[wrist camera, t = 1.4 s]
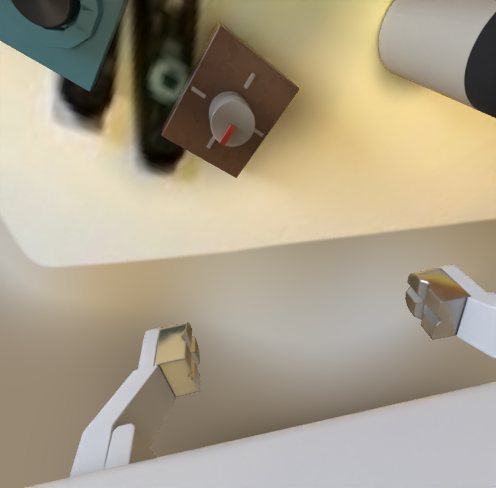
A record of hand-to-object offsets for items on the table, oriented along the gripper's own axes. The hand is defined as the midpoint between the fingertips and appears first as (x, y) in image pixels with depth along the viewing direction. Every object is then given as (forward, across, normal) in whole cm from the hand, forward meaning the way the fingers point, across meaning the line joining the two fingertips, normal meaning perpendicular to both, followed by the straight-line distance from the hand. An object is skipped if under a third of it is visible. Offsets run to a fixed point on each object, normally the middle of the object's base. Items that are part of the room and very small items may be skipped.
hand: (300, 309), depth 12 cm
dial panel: (+28, 0, -3) cm, 28 cm away
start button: (+23, +12, -13) cm, 29 cm away
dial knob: (+25, 0, -2) cm, 25 cm away
